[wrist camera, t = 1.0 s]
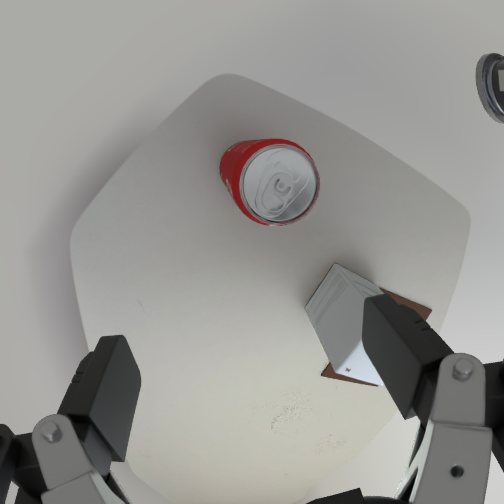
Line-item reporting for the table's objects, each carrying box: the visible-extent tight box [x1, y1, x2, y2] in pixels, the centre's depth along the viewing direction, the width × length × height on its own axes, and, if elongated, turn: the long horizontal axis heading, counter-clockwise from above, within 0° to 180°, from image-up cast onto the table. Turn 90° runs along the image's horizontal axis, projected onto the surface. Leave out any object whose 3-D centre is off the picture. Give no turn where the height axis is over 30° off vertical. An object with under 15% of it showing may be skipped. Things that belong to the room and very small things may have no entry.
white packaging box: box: [305, 263, 384, 386], centre depth 34 cm, size 7×7×13 cm
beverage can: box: [220, 139, 320, 226], centre depth 26 cm, size 6×6×15 cm
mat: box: [321, 288, 432, 386], centre depth 43 cm, size 16×12×1 cm
